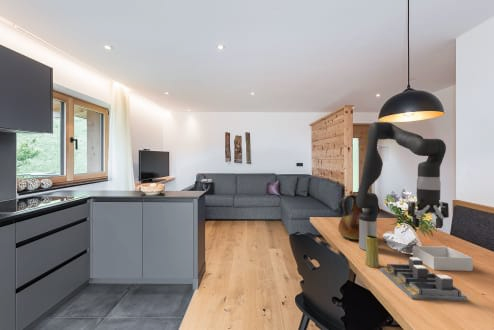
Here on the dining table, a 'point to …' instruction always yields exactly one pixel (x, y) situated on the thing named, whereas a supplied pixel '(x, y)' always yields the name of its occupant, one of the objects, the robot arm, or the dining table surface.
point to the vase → (372, 251)
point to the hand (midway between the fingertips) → (427, 227)
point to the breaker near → (444, 282)
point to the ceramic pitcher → (350, 220)
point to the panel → (420, 284)
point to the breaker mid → (420, 271)
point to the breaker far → (414, 262)
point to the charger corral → (443, 258)
